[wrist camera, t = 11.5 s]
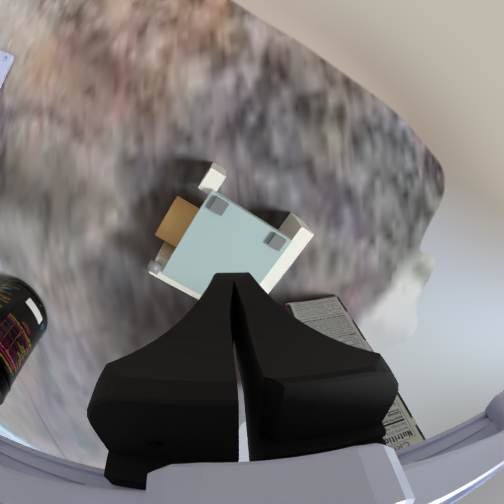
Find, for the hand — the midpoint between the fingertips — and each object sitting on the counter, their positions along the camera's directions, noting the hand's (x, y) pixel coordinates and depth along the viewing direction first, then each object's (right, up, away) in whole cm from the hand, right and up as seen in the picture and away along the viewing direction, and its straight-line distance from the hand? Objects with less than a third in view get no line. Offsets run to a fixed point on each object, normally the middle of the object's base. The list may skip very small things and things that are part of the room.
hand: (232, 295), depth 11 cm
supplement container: (-22, -4, +11) cm, 25 cm away
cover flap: (-1, +2, +7) cm, 7 cm away
